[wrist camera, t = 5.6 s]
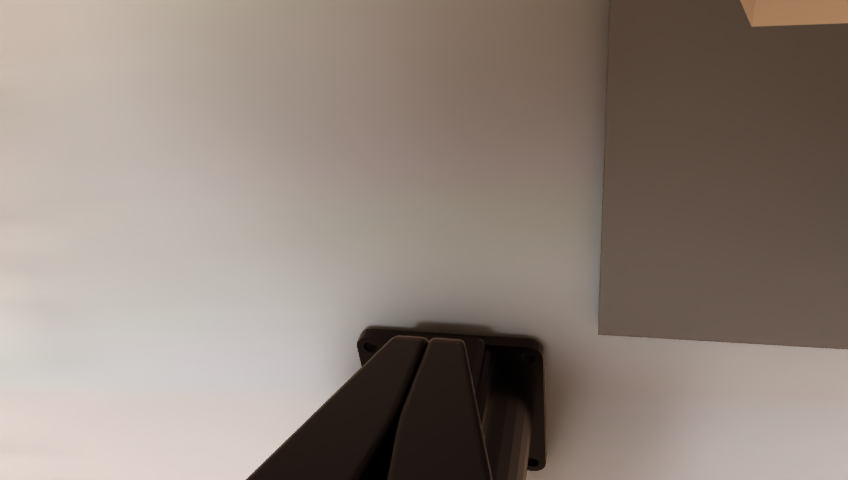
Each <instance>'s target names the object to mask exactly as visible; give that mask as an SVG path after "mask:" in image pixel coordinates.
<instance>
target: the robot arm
mask: <svg viewBox="0 0 848 480" xmlns="http://www.w3.org/2000/svg"><path fill="white" fill-rule="evenodd" d="M369 342H371V343H374V344H375V345H373V344H371V343H369ZM357 348H358V352H359V357H360V361H361V365H362V367H361V368H360V369H359V370H358V371H357V372H356V373H355V374H354V375H353V376H352V377H351V378H350V379H349V380H348V381H347V382H346V383H345V384H344V385H343V386H342V387H341V388H340V389H339V390H338V391H337V392H336V393H335V394H334V395H333V396H332V397H331V398H329V399H328V400H327V401H326V402H325V403H324V404H323V405H322V406H321V407H320V408H319V409H318V410H317V411H316V412H315V413H314V414H313V415H312V416H311V417H310V418H309V419H308V420H307V421H306V422H305V423H304V424H303V425H302V426H301V427H300V428H299V429H298V430H297V431H296V432H295V433H293V434H292V435H291V436H290V437H289V438H288V439H287V440H286V441H285V442H284V443H283V444H282V445H281V446H280V447H279V448H278V449H277V450H276V451H275V452H274V453H273V454H272V455H271V456H270V457H269V458H268V459H267V460H266V461H265V462H264V463H263V464H262V465H261V466H260V467H259V468H258V469H256V470H255V471H254V472H253V473H252V474H251V475H250V476H249V477H248V478H247V479H246V480H526V474H527V470H530V471H538V470H541V469H543V468H544V467H545V464H546V414H545V371H544V349H543V346H542V345H541V344H540V343H539V342H537V341H535V340H532V339H523V338H507V337H491V336H474V335H458V334H442V333H426V332H409V331H393V330H377V329H368V330H365V331H363V332H362V333H361V335H360V337H359V340H358V342H357ZM525 353H532V354H533V355H527V354H525Z"/></svg>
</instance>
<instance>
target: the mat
mask: <svg viewBox="0 0 848 480" xmlns="http://www.w3.org/2000/svg"><path fill="white" fill-rule="evenodd" d="M598 335H613V336H630V337H647V338H664V339H681V340H698V341H715V342H732V343H749V344H766V345H783V346H800V347H817V348H834V349H848V23H839V24H812V25H784V26H757V27H751V25H750V22H749V20H748V18H747V15H746V13H745V11H744V8H743V6H742V4H741V1H740V0H610V17H609V45H608V73H607V101H606V129H605V157H604V185H603V212H602V240H601V268H600V296H599V325H598Z"/></svg>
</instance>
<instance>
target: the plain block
mask: <svg viewBox="0 0 848 480" xmlns="http://www.w3.org/2000/svg"><path fill="white" fill-rule="evenodd" d="M740 1H741V4H742V6H743V8H744V11H745V13H746V15H747V18H748V20H749V22H750V25H751V27H757V26H784V25H812V24H839V23H848V0H740Z"/></svg>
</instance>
